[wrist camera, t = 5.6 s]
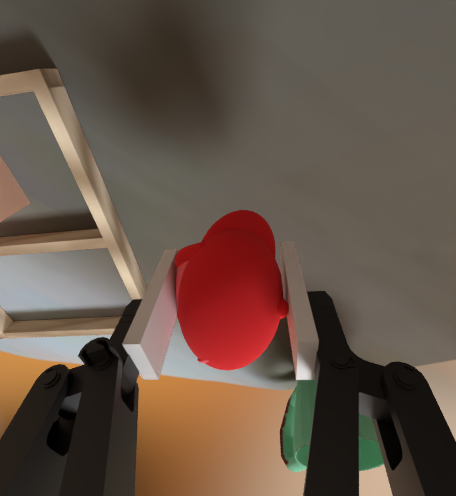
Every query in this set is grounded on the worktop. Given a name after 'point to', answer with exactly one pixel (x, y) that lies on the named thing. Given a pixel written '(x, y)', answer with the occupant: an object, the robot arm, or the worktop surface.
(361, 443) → the mug
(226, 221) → the red rounded oval lump
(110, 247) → the rack
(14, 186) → the block
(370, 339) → the worktop surface
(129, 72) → the worktop surface
